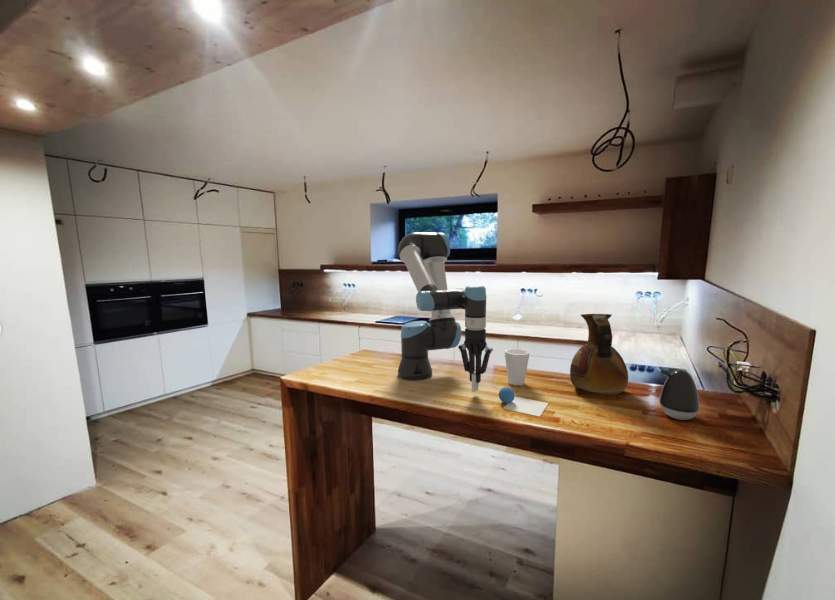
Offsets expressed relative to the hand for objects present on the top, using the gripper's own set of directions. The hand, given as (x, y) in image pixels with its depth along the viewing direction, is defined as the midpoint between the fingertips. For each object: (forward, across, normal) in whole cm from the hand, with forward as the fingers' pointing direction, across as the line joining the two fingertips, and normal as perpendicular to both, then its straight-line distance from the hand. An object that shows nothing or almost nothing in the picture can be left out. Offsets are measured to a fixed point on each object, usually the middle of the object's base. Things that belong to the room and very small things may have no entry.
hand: (475, 390), depth 131 cm
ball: (-1, +12, 0) cm, 12 cm away
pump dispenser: (+2, +62, +17) cm, 64 cm away
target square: (+2, +19, 0) cm, 19 cm away
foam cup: (+2, +9, +21) cm, 23 cm away
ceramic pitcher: (+2, +38, +28) cm, 47 cm away
